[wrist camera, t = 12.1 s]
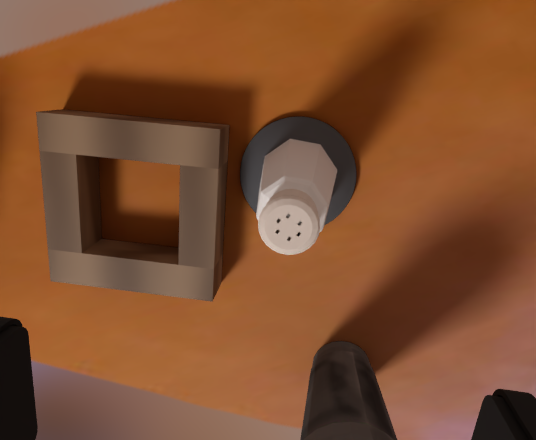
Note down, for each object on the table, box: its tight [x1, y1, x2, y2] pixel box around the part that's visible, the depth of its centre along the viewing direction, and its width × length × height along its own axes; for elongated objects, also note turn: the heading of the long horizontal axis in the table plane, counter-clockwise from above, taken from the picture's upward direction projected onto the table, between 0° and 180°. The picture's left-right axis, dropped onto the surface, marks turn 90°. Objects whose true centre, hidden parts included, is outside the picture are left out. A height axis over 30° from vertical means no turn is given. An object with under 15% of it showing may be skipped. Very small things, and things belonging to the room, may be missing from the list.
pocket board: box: [36, 109, 229, 301], centre depth 30 cm, size 12×12×3 cm
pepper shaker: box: [256, 139, 337, 255], centre depth 24 cm, size 5×5×11 cm
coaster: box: [240, 116, 356, 225], centre depth 30 cm, size 8×8×1 cm
